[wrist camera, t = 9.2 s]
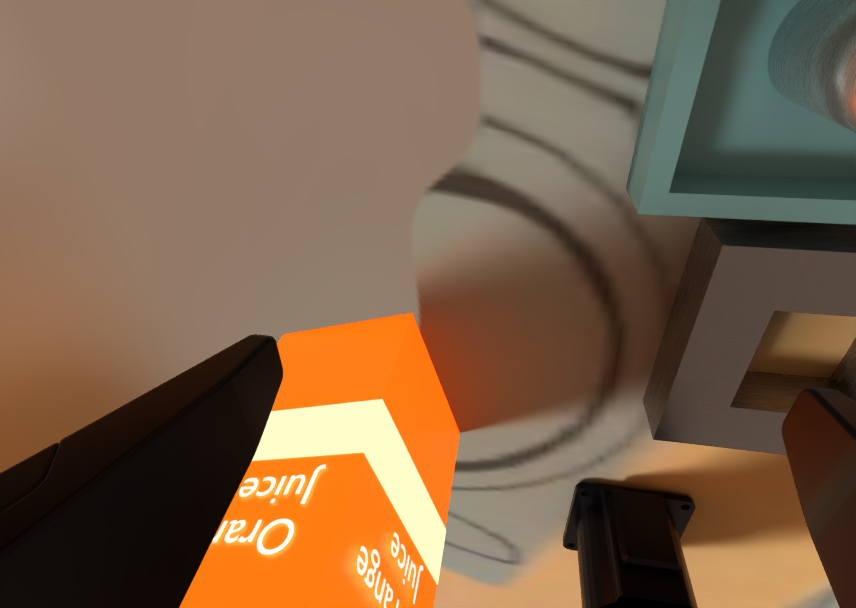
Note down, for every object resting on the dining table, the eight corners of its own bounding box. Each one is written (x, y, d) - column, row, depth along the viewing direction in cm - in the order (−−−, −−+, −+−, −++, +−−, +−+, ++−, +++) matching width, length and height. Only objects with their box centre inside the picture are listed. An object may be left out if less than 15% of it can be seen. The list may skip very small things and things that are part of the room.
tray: (922, 200, 17) (975, 230, 15) (626, 187, 19) (638, 214, 17) (1154, -199, 12) (1288, -236, 9) (703, -170, 13) (735, -195, 11)
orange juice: (344, 443, 30) (131, 981, 14) (280, 333, 26) (-130, 926, 10) (463, 433, 28) (372, 1066, 12) (415, 310, 24) (166, 1045, 7)
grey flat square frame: (866, 423, 23) (898, 467, 21) (643, 400, 24) (653, 439, 22) (1003, 230, 17) (1066, 264, 15) (702, 216, 19) (722, 245, 17)
